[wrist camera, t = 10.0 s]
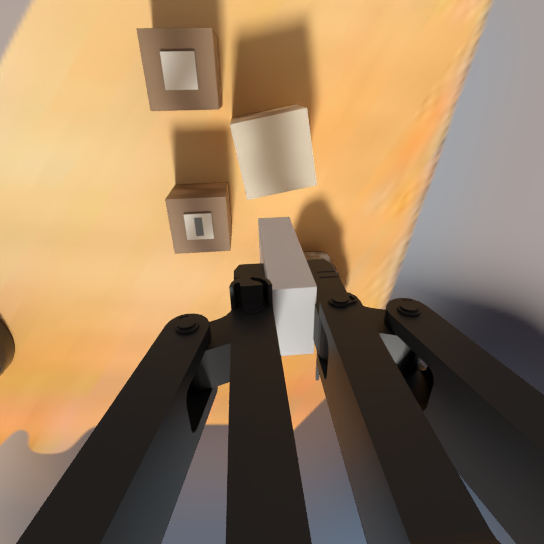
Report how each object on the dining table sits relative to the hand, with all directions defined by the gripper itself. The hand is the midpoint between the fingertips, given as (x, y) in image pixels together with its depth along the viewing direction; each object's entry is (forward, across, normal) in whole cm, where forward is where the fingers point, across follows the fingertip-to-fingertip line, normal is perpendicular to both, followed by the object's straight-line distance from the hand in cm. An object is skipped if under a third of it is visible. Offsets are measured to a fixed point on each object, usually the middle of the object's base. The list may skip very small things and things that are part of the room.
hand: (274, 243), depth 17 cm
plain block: (+25, +2, +1) cm, 25 cm away
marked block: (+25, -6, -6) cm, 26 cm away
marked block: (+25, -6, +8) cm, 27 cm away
